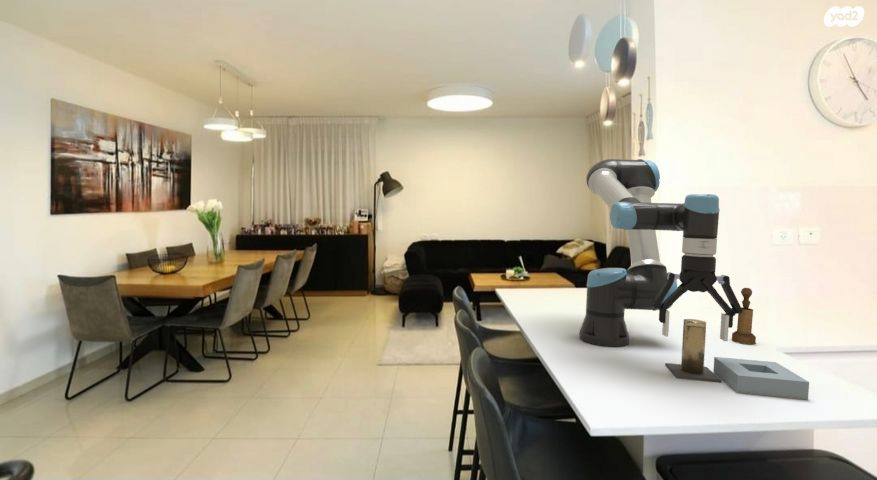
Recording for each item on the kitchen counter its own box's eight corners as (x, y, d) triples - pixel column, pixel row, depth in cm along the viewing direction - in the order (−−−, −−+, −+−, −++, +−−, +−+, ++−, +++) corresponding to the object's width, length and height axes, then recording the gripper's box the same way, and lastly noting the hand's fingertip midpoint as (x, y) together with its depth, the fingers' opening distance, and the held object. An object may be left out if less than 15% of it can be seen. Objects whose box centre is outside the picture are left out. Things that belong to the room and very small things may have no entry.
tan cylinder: (684, 373, 110) (687, 322, 109) (678, 366, 115) (681, 318, 114) (706, 375, 109) (709, 324, 108) (699, 368, 114) (702, 319, 113)
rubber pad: (676, 378, 108) (676, 375, 108) (665, 365, 118) (665, 362, 118) (721, 382, 106) (721, 380, 106) (706, 368, 116) (706, 366, 116)
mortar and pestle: (759, 345, 140) (763, 290, 139) (737, 343, 141) (740, 288, 140) (749, 339, 147) (752, 286, 146) (728, 338, 148) (731, 285, 147)
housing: (737, 392, 100) (738, 375, 100) (713, 371, 114) (714, 356, 113) (808, 399, 97) (809, 382, 97) (774, 377, 110) (775, 362, 110)
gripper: (649, 254, 110) (645, 337, 111) (762, 258, 104) (756, 346, 105) (642, 252, 117) (638, 329, 118) (747, 256, 111) (742, 337, 112)
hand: (694, 337), depth 112 cm, fingers open, 13 cm apart
